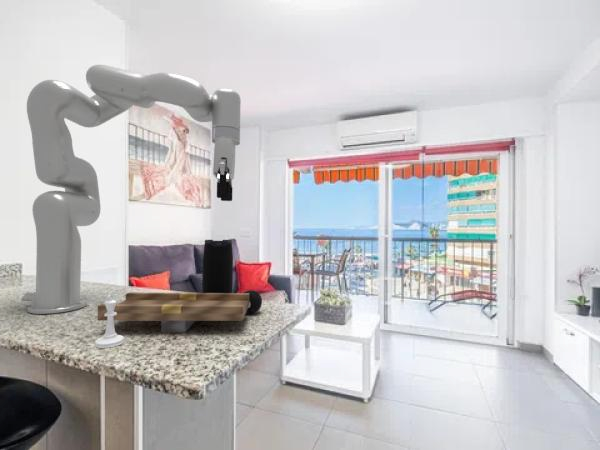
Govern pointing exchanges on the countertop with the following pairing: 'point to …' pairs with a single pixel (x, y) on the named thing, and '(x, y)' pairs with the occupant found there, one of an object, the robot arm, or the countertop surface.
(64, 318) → the countertop surface
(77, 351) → the countertop surface
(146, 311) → the beam
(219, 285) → the portable speaker
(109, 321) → the chess piece
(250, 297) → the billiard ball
